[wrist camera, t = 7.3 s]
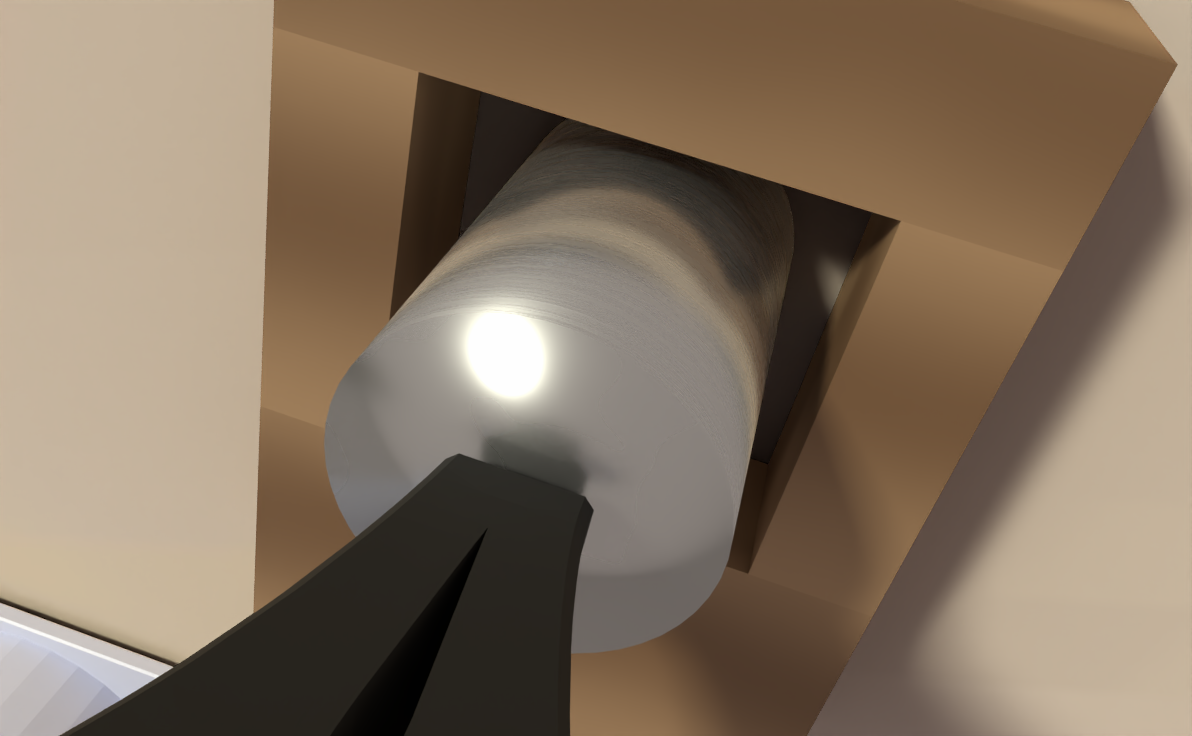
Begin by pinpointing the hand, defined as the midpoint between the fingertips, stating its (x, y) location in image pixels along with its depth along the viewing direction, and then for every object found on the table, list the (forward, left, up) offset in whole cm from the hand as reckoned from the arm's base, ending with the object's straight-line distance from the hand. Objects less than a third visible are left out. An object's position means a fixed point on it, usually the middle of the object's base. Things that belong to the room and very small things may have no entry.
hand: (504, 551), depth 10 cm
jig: (-2, 0, -6) cm, 7 cm away
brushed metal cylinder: (0, 0, -6) cm, 6 cm away
